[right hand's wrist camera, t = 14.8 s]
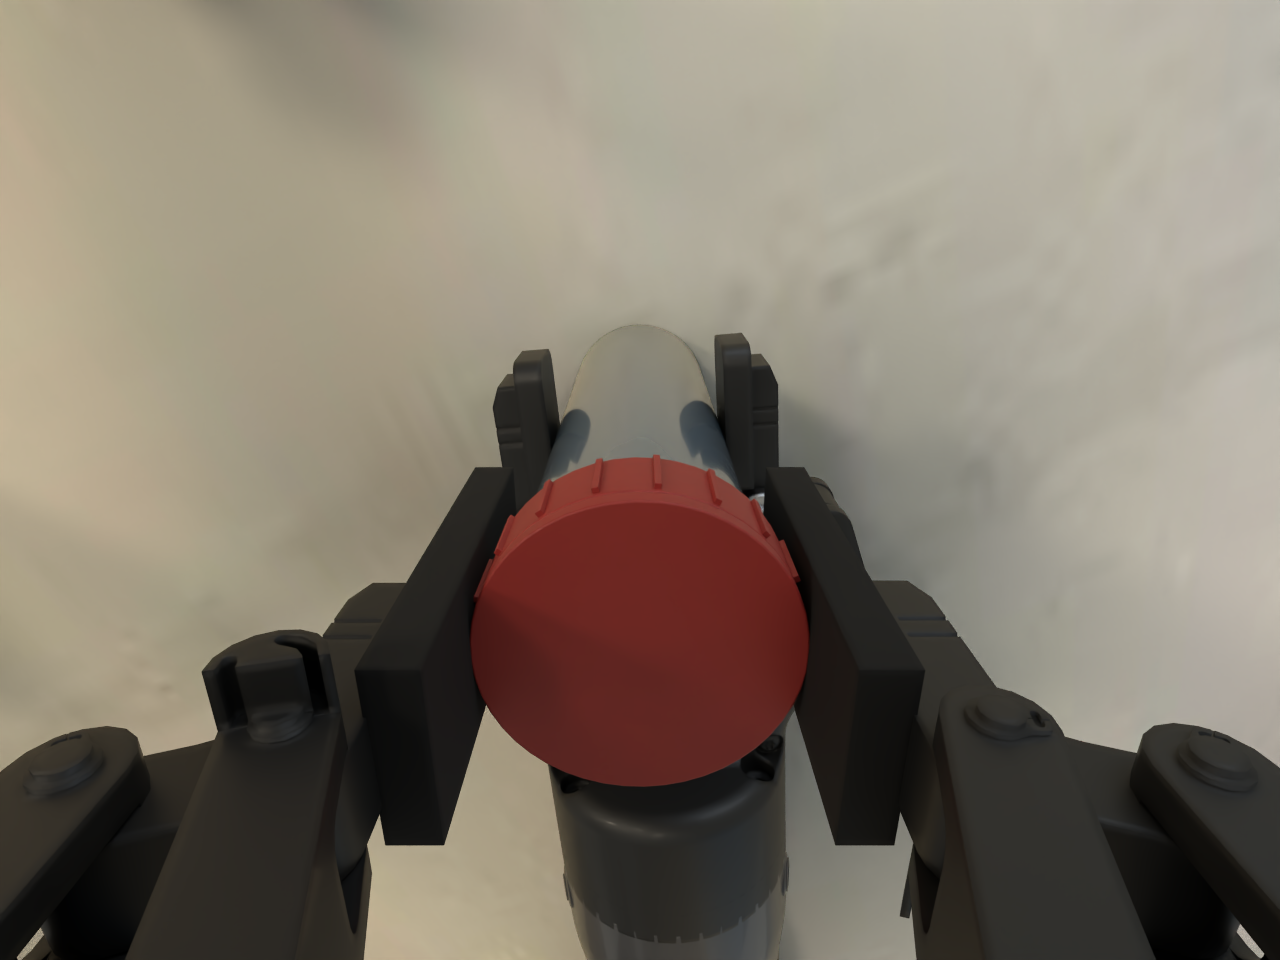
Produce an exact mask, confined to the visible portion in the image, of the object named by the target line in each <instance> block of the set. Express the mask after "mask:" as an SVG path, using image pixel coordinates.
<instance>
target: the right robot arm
mask: <svg viewBox="0 0 1280 960" xmlns="http://www.w3.org/2000/svg"><path fill="white" fill-rule="evenodd" d="M510 515H512V516H514V517H515V516H516V515H517V513H516V499H515V485H514V470H513V467H475V469H474V471H473V472H472V474H471V476H470V477H469V479H468V481H467V482H466V484H465V486H464V487H463V489H462V491H461V492H460V494H459V496H458V497H457V499H456V501H455V502H454V504H453V506H452V507H451V509H450V511H449V512H448V514H447V516H446V517H445V519H444V521H443V522H442V524H441V526H440V527H439V529H438V531H437V532H436V534H435V536H434V537H433V539H432V541H431V542H430V544H429V546H428V547H427V549H426V551H425V552H424V554H423V556H422V557H421V559H420V561H419V562H418V564H417V566H416V567H415V569H414V571H413V572H412V574H411V576H410V577H409V579H408V581H407V583H372V584H371V585H369V586H368V587H366V588H365V589H363V590H362V591H360V592H359V593H357V594H356V595H355V596H353V597H352V598H350V599H349V600H348V601H347V602H346V604H345V605H344V606H343V608H342V609H341V611H340V612H339V613H338V615H337V616H336V618H335V619H334V620H335V621H334V623H331V625H330V626H329V627H328V629H327V630H326V632H325V633H324V634H323V637H321V636H320V635H319V634H317V633H313V632H309V631H304V630H278V631H273V632H269V633H265V634H260V635H256V636H253V637H250V638H248V639H246V640H243V641H241V642H238V643H236V644H233V645H231V646H230V647H228V648H227V649H225V650H224V651H222V652H221V653H219V654H218V655H216V656H215V657H213V658H212V660H211V661H210V662H209V663H208V665H207V666H206V667H205V668H204V669H203V671H202V675H203V679H204V683H205V686H206V690H207V693H208V697H209V701H210V704H211V708H212V712H213V715H214V719H215V723H216V726H217V730H218V733H217V735H216V738H215V740H212V741H209V742H205V743H201V744H198V745H194V746H189V747H184V748H180V749H175V750H170V751H166V752H161V753H156V754H152V755H147V756H143V753H142V750H141V747H140V744H139V741H138V738H137V737H136V736H135V735H133V734H132V733H131V732H130V731H128V730H127V729H123V728H116V727H109V726H105V727H97V728H89V729H82V730H79V731H75V732H71V733H69V734H64V735H62V736H59V737H56V738H53V739H51V740H49V741H48V742H46V743H44V744H42V745H40V746H38V747H36V748H34V749H32V750H30V751H28V752H26V753H25V754H23V755H22V756H21V757H19V758H18V759H17V760H15V761H14V762H13V763H11V764H10V765H9V766H7V767H6V768H5V769H3V770H2V771H1V772H0V960H18V959H17V956H18V955H19V954H20V952H21V951H22V950H23V949H24V947H25V946H26V945H27V944H28V942H29V941H30V940H31V939H32V937H33V936H34V935H35V934H36V932H37V931H38V930H39V929H40V927H41V929H42V931H43V933H44V936H43V937H42V938H41V939H40V941H39V942H38V943H37V945H36V946H35V947H34V948H33V950H32V951H31V952H29V953H28V954H27V955H26V956H25V957H24V958H23V959H22V960H364V950H365V939H366V929H367V919H368V908H369V898H370V888H371V877H372V871H371V864H370V858H369V853H368V848H367V843H368V841H369V838H370V836H371V833H372V831H373V829H374V826H375V824H376V821H377V819H378V817H379V814H380V818H381V824H382V829H383V835H384V840H385V845H444V844H445V840H446V837H447V834H448V830H449V827H450V824H451V820H452V817H453V814H454V810H455V807H456V804H457V800H458V797H459V794H460V790H461V787H462V784H463V780H464V777H465V774H466V770H467V767H468V764H469V760H470V757H471V754H472V750H473V747H474V744H475V740H476V737H477V734H478V730H479V727H480V724H481V720H482V717H483V714H484V710H485V707H486V703H485V701H484V700H483V698H482V696H481V693H480V691H479V688H478V685H477V683H476V680H475V677H474V673H473V667H472V658H471V648H470V628H471V620H472V616H473V612H474V609H475V605H476V603H475V602H474V595H475V592H476V590H477V587H478V585H479V583H480V580H481V578H482V575H483V573H484V570H485V568H486V566H487V563H488V561H489V559H492V560H493V559H494V557H495V554H494V551H495V549H496V546H497V544H498V541H499V539H500V536H501V534H502V531H503V529H504V526H505V524H506V522H507V519H508V518H509V516H510ZM763 515H764V517H765V518H766V519H767V521H768V522H769V524H770V525H771V527H772V529H773V531H774V532H775V534H776V536H777V538H778V540H779V541H781V540H784V542H785V544H786V546H787V549H788V551H789V554H790V556H791V558H792V561H793V563H794V566H795V568H796V570H797V573H798V575H799V578H800V580H801V581H799V582H797V583H796V585H797V587H798V590H799V592H800V595H801V598H802V601H803V604H804V607H805V610H806V613H807V618H808V624H809V630H810V642H809V654H808V663H807V671H806V675H805V678H804V681H803V685H802V688H801V690H800V692H799V694H798V696H797V698H796V701H795V703H794V708H795V712H796V715H797V718H798V722H799V725H800V728H801V732H802V735H803V738H804V742H805V745H806V748H807V752H808V755H809V758H810V762H811V765H812V768H813V772H814V775H815V779H816V782H817V785H818V789H819V792H820V795H821V799H822V802H823V805H824V809H825V812H826V815H827V819H828V822H829V825H830V829H831V832H832V835H833V839H834V842H835V845H894V844H895V838H896V832H897V827H898V821H899V816H900V812H901V814H902V817H903V819H904V821H905V824H906V826H907V829H908V831H909V833H910V836H911V838H912V840H913V847H912V853H911V858H910V863H909V868H908V874H907V879H906V884H905V889H904V894H903V900H902V906H901V912H900V916H901V917H905V918H909V917H910V912H911V907H912V917H913V927H914V937H915V948H916V958H917V960H1280V768H1279V767H1278V766H1277V765H1275V764H1274V763H1272V762H1271V761H1270V760H1268V759H1267V758H1266V757H1264V756H1263V755H1262V754H1260V753H1259V752H1258V751H1256V750H1255V749H1253V748H1251V747H1249V746H1247V745H1245V744H1243V743H1241V742H1239V741H1237V740H1235V739H1233V738H1231V737H1230V736H1228V735H1225V734H1222V733H1220V732H1217V731H1212V730H1211V729H1206V728H1202V727H1199V726H1192V725H1185V724H1177V723H1170V724H1163V725H1156V726H1153V727H1152V728H1151V729H1149V730H1148V731H1147V732H1145V733H1144V734H1143V736H1142V739H1141V742H1140V746H1139V749H1138V752H1137V753H1133V752H1128V751H1124V750H1119V749H1114V748H1110V747H1105V746H1100V745H1096V744H1091V743H1086V742H1082V741H1078V740H1075V739H1071V738H1068V737H1065V736H1064V734H1063V731H1062V730H1061V728H1060V727H1059V725H1058V724H1057V723H1056V721H1055V720H1054V718H1053V717H1052V716H1051V715H1050V714H1049V713H1048V712H1046V711H1045V710H1044V709H1042V708H1041V707H1040V706H1038V705H1037V704H1036V703H1035V702H1033V701H1031V700H1029V699H1027V698H1024V697H1022V696H1020V695H1018V694H1016V693H1014V692H1011V691H1007V690H1003V689H1000V688H997V687H996V686H995V685H994V683H993V682H992V680H991V679H990V678H989V676H988V675H987V673H986V672H985V671H984V669H983V668H982V667H981V665H980V664H979V662H978V661H977V660H976V658H975V657H974V655H973V654H972V653H971V651H970V650H969V649H968V647H967V646H966V644H965V643H964V642H963V640H962V639H961V637H957V632H956V631H955V629H954V628H953V626H952V625H951V624H950V622H949V621H946V619H945V615H944V614H943V612H942V611H941V610H940V608H939V607H938V606H937V604H936V603H935V601H934V600H933V599H932V597H930V596H929V595H927V594H926V593H924V592H923V591H921V590H920V589H918V588H917V587H915V586H914V585H912V584H911V583H910V582H908V581H872V580H871V578H870V577H869V575H868V573H867V572H866V570H865V568H864V567H863V565H862V563H861V562H860V560H859V558H858V557H857V555H856V553H855V552H854V550H853V548H852V547H851V545H850V543H849V542H848V540H847V538H846V537H845V535H844V533H843V531H842V530H841V528H840V526H839V525H838V523H837V521H836V520H835V518H834V516H833V515H832V513H831V511H830V510H829V508H828V506H827V505H826V503H825V501H824V500H823V498H822V496H821V495H820V493H819V491H818V490H817V488H816V486H815V485H814V483H813V481H812V480H811V478H810V476H809V475H808V473H807V471H806V470H805V468H804V467H766V478H765V493H764V507H763ZM1240 924H1241V925H1242V926H1243V928H1244V929H1245V930H1246V931H1247V933H1248V934H1249V935H1250V936H1251V938H1252V939H1253V940H1254V941H1255V943H1256V944H1257V945H1258V946H1259V948H1260V949H1261V950H1262V951H1263V953H1264V956H1263V957H1262V958H1259V957H1258V956H1257V955H1256V954H1255V953H1254V952H1253V951H1252V950H1251V949H1250V948H1249V947H1248V946H1247V945H1246V943H1245V942H1244V941H1243V940H1242V938H1241V937H1240V936H1239V935H1238V933H1237V930H1238V927H1239V925H1240Z"/></svg>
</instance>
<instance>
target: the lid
mask: <svg viewBox="0 0 1280 960" xmlns="http://www.w3.org/2000/svg"><path fill="white" fill-rule="evenodd" d="M494 554H495V557H494V559H493V560H492V559H489V561H488V563H487V566H486V568H485V570H484V573H483V575H482V578H481V580H480V583H479V585H478V587H477V590H476V592H475V595H474V602H475V603H476V605H475V609H474V612H473V616H472V620H471V628H470V648H471V658H472V667H473V673H474V677H475V680H476V683H477V685H478V688H479V691H480V693H481V696H482V698H483V700H484V701H485V703H486V705H487V707H488V709H489V710H490V712H491V714H492V715H493V716H494V718H495V719H496V720H497V721H498V723H499V724H500V725H501V727H502V728H503V729H504V730H505V731H506V732H507V733H508V734H509V735H510V736H511V737H512V738H513V739H514V740H515V741H516V742H517V743H518V744H520V745H521V746H522V747H523V748H525V749H526V750H527V751H528V752H530V753H531V754H533V755H534V756H536V757H537V758H539V759H541V760H542V761H544V762H545V763H547V764H549V765H551V766H553V767H555V768H558V769H560V770H562V771H564V772H566V773H569V774H572V775H575V776H578V777H581V778H583V779H587V780H592V781H596V782H600V783H605V784H612V785H620V786H642V787H645V786H659V785H668V784H674V783H679V782H685V781H688V780H692V779H695V778H699V777H702V776H705V775H708V774H710V773H713V772H715V771H718V770H720V769H723V768H724V767H726V766H728V765H730V764H732V763H734V762H736V761H737V760H739V759H741V758H742V757H744V756H745V755H747V754H748V753H750V752H751V751H752V750H754V749H755V748H757V747H758V746H759V745H760V744H761V743H762V742H763V741H764V740H766V739H767V738H768V737H769V736H770V735H771V734H772V733H773V732H774V730H775V729H776V728H777V727H778V726H779V725H780V724H781V722H782V721H783V720H784V718H785V717H786V715H787V714H788V712H789V711H790V709H791V708H792V706H793V705H794V703H795V701H796V698H797V696H798V694H799V692H800V690H801V688H802V685H803V681H804V678H805V675H806V671H807V663H808V654H809V642H810V630H809V624H808V618H807V613H806V610H805V607H804V604H803V601H802V598H801V595H800V592H799V590H798V587H797V585H796V583H797V582H799V581H801V580H800V578H799V575H798V573H797V570H796V568H795V566H794V563H793V561H792V558H791V556H790V554H789V551H788V549H787V546H786V544H785V542H784V540H781V541H779V540H778V538H777V536H776V534H775V532H774V531H773V529H772V527H771V525H770V524H769V522H768V521H767V519H766V518H765V517H764V515H763V513H762V511H761V508H760V505H759V503H758V501H757V500H756V499H755V498H754V499H753V500H751V501H750V500H749V498H748V497H746V496H745V495H744V494H743V493H741V492H740V491H739V490H738V489H736V488H735V487H734V486H733V485H731V484H729V483H728V482H726V481H724V480H723V479H721V478H719V477H718V476H716V474H715V471H714V470H712V469H710V468H709V469H708V470H707V471H705V470H702V469H700V468H698V467H695V466H691V465H688V464H684V463H681V462H677V461H672V460H665V459H660V455H655V454H654V455H653V458H641V457H633V458H622V459H613V460H608V461H603V459H602V458H600V459H596V462H595V463H594V464H591V465H588V466H586V467H583V468H580V469H577V470H574V471H572V472H570V473H568V474H566V475H564V476H562V477H560V478H558V479H556V480H555V481H553V482H552V481H551V480H550V479H549V480H548V481H546V482H545V483H544V487H543V489H542V490H540V491H539V492H538V493H537V494H536V495H535V496H534V497H532V498H531V499H530V500H529V501H528V502H527V503H526V504H525V505H524V506H523V507H522V509H521V510H520V511H519V512H518V513H517V515H516V516H515V517H514V516H512V515H510V516H509V518H508V519H507V522H506V524H505V526H504V529H503V531H502V534H501V536H500V539H499V541H498V544H497V546H496V549H495V551H494Z"/></svg>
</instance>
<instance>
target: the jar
mask: <svg viewBox="0 0 1280 960" xmlns="http://www.w3.org/2000/svg"><path fill="white" fill-rule="evenodd" d="M654 454H655V455H660V459H665V460H672V461H677V462H681V463H684V464H688V465H691V466H695V467H698V468H700V469H702V470H705V471H707V470H708V469H709V468H710V469H712V470H714V471H715V474H716V476H718V477H719V478H721V479H723V480H724V481H726V482H728V483H729V484H731V485H733V486H734V487H735V488H736V489H738V490H739V491H740V492H741V493H742V490H741V487H740V484H739V481H738V478H737V475H736V472H735V469H734V466H733V463H732V461H731V458H730V455H729V452H728V449H727V446H726V443H725V440H724V437H723V434H722V431H721V428H720V426H719V423H718V420H717V417H716V414H715V411H714V408H713V405H712V402H711V399H710V396H709V393H708V390H707V388H706V385H705V382H704V379H703V376H702V373H701V370H700V367H699V364H698V362H697V360H696V358H695V356H694V354H693V353H692V351H691V350H690V348H689V347H688V346H687V345H686V344H685V343H684V342H683V341H682V340H681V339H679V338H678V337H677V336H675V335H674V334H672V333H670V332H668V331H666V330H664V329H661V328H658V327H655V326H649V325H630V326H626V327H621V328H619V329H616V330H613V331H611V332H610V333H608V334H606V335H604V336H603V337H602V338H600V339H599V340H598V341H597V342H596V343H595V344H594V345H593V346H592V347H591V348H590V350H589V351H588V352H587V354H586V356H585V357H584V359H583V361H582V364H581V366H580V369H579V372H578V375H577V378H576V380H575V383H574V386H573V389H572V392H571V395H570V398H569V401H568V404H567V407H566V410H565V412H564V415H563V418H562V421H561V424H560V427H559V430H558V433H557V436H556V439H555V442H554V444H553V447H552V450H551V453H550V456H549V459H548V462H547V465H546V468H545V471H544V473H543V476H542V479H541V482H540V485H539V488H538V491H537V493H538V492H539V491H540V490H542V489H543V487H544V483H545V482H546V481H548V480H549V479H550V480H551V481H552V482H553V481H555V480H556V479H558V478H560V477H562V476H564V475H566V474H568V473H570V472H572V471H574V470H577V469H580V468H583V467H586V466H588V465H591V464H594V463H595V462H596V459H600V458H602V459H603V461H608V460H613V459H622V458H633V457H641V458H653V455H654Z"/></svg>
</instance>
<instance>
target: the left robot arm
mask: <svg viewBox="0 0 1280 960" xmlns="http://www.w3.org/2000/svg"><path fill="white" fill-rule="evenodd" d="M715 371H716V396H717V420H718V423H719V426H720V428H721V431H722V434H723V437H724V440H725V443H726V446H727V449H728V452H729V455H730V458H731V461H732V463H733V466H734V469H735V472H736V475H737V478H738V481H739V484H740V487H741V490H742V493H743V494H744V495H745V496H746V497H748V498H749V500H750V501H751V500H753V499H754V498H755V499H756V500H757V501H758V503H759V505H760V508H761V511H762V513H763V507H764V493H765V478H766V467H779V454H778V384H777V381H776V379H775V377H774V374H773V372H772V370H771V367H770V365H769V364H768V363H767V361H766V360H765V359H764V357H763V356H762V355H761V354H752V355H751V351H750V345H749V343H748V341H747V340H746V338H745V337H744V336H743V334H742V333H735V334H722V335H715ZM493 412H494V418H495V424H496V428H497V437H498V443H499V449H500V455H501V461H502V467H513V470H514V485H515V499H516V513H518V512H519V511H520V510H521V509H522V507H523V506H524V505H525V504H526V503H527V502H528V501H529V500H530V499H531V498H532V497H534V496H535V495H536V494H537V491H538V488H539V485H540V482H541V479H542V476H543V473H544V471H545V468H546V465H547V462H548V459H549V456H550V453H551V450H552V447H553V444H554V442H555V439H556V436H557V433H558V430H559V427H560V421H559V413H558V405H557V397H556V390H555V382H554V374H553V366H552V359H551V354H550V351H549V349H542V350H530V351H522V352H521V354H520V355H519V356H518V358H517V359H516V360H515V362H514V365H513V374H507V375H506V377H505V378H504V380H503V381H502V382H501V384H500V385H499V386H498V388H497V392H496V396H495V400H494V405H493ZM810 478H811V480H812V481H813V483H814V485H815V486H816V488H817V490H818V491H819V493H820V495H821V496H822V498H823V500H824V501H825V503H826V505H827V506H828V508H829V510H830V511H831V513H832V515H833V516H834V518H835V520H836V521H837V523H838V525H839V526H840V528H841V530H842V531H843V533H844V535H845V537H846V538H847V540H848V542H849V543H850V545H851V547H852V548H853V550H854V552H855V553H856V555H857V557H858V558H859V560H860V562H861V563H862V565H863V567H864V564H863V561H862V558H861V554H860V551H859V547H858V544H857V541H856V537H855V534H854V530H853V527H852V524H851V521H850V520H849V518H848V517H847V515H846V514H845V512H844V511H843V510H842V509H841V508H840V507H839V506H838V504H837V503H836V501H835V500H834V497H833V494H832V492H831V490H830V489H829V487H828V486H827V484H826V483H825V482H824V481H823V480H821V479H819V478H815V477H810ZM794 710H795V708H794V705H793V706H792V708H791V709H790V711H789V712H788V714H787V715H786V717H785V718H784V720H783V721H782V722H781V724H780V725H779V726H778V727H777V728H776V729H775V730H774V732H773V733H772V734H771V735H770V736H769V737H768V738H767V739H766V740H764V741H763V742H762V743H761V744H760V745H759V746H758V747H757V748H755V749H754V750H752V751H751V752H750V753H748V754H747V755H745V756H744V757H742V758H741V759H739V760H737V761H736V762H734V763H732V764H730V765H728V766H726V767H724V768H723V769H720V770H718V771H715V772H713V773H710V774H708V775H705V776H702V777H699V778H695V779H692V780H688V781H685V782H679V783H674V784H668V785H659V786H645V787H642V786H620V785H612V784H605V783H600V782H596V781H592V780H587V779H583V778H581V777H578V776H575V775H572V774H569V773H566V772H564V771H562V770H560V769H558V768H555V767H553V766H551V765H549V764H548V767H549V773H550V779H551V785H552V791H553V797H554V804H555V810H556V816H557V822H558V828H559V834H560V840H561V846H562V852H563V858H564V864H565V865H564V874H563V879H564V886H565V891H566V896H567V900H569V903H570V906H571V908H572V913H573V918H574V923H575V927H576V930H577V934H578V937H579V940H580V943H581V946H582V948H583V951H584V953H585V956H586V958H587V960H779V942H780V938H781V933H782V927H783V921H784V915H785V898H786V891H787V890H788V879H789V858H788V857H787V853H786V838H785V730H786V726H787V723H788V720H789V718H790V717H791V715H792V713H793V712H794Z"/></svg>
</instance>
